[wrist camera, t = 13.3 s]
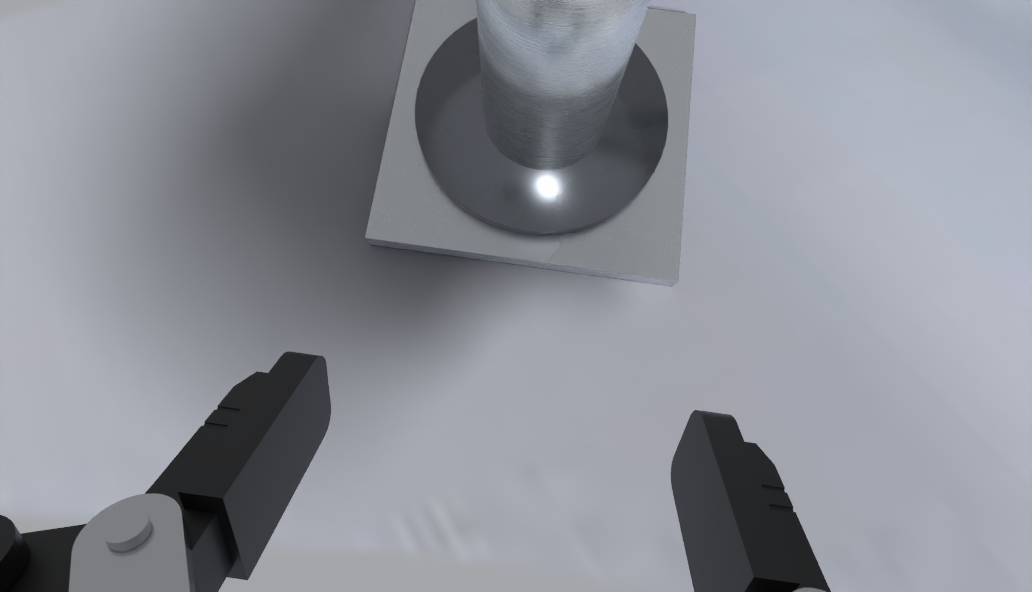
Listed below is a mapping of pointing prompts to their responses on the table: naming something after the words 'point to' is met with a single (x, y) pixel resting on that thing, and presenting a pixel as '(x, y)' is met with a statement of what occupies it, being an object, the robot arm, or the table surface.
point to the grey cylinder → (552, 74)
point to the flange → (530, 192)
